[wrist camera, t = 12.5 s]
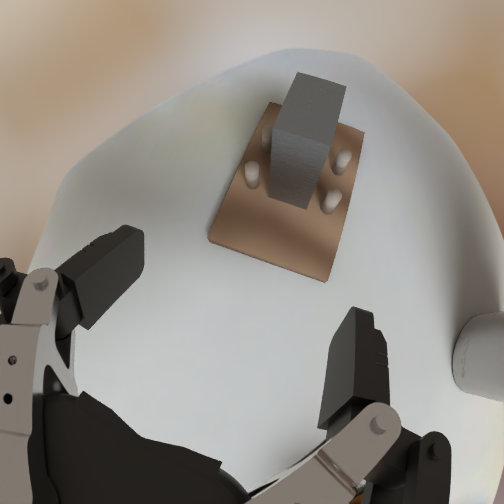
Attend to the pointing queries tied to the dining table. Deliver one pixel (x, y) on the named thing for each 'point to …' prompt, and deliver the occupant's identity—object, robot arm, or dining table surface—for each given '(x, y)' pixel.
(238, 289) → the dining table surface
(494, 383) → the robot arm
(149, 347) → the dining table surface
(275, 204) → the wooden peg stand
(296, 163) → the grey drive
